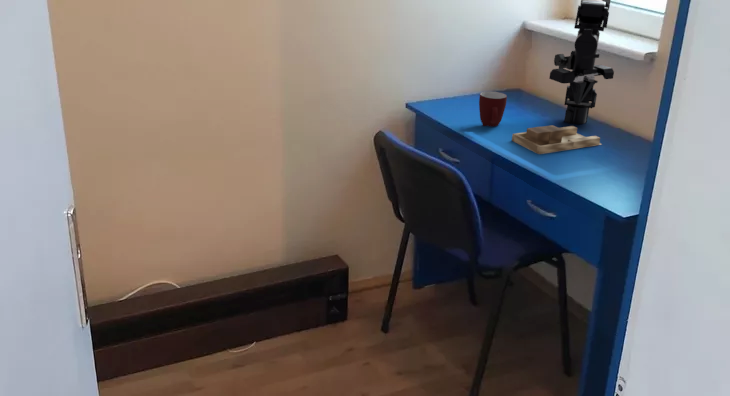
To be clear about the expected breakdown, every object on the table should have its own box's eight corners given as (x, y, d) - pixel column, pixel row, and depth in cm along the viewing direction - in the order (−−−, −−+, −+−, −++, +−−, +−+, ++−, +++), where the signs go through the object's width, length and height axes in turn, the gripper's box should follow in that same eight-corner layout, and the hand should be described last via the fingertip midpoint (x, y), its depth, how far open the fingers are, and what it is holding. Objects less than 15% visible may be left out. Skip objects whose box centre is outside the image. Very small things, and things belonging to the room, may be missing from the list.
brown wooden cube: (537, 141, 210) (539, 126, 209) (547, 146, 207) (550, 131, 205) (525, 143, 208) (527, 128, 207) (535, 148, 205) (537, 133, 203)
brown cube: (550, 140, 212) (552, 125, 210) (560, 145, 209) (563, 129, 207) (538, 141, 210) (540, 126, 208) (548, 146, 207) (550, 131, 205)
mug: (509, 133, 219) (513, 101, 215) (482, 133, 218) (486, 101, 214) (498, 122, 229) (502, 91, 225) (473, 122, 228) (476, 91, 224)
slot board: (573, 134, 221) (574, 125, 220) (601, 147, 211) (603, 137, 210) (511, 143, 211) (512, 133, 210) (538, 157, 201) (539, 147, 200)
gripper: (591, 41, 213) (582, 93, 219) (540, 44, 205) (533, 99, 211) (619, 49, 204) (609, 103, 210) (567, 53, 196) (558, 110, 202)
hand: (577, 103), depth 209 cm, fingers closed
